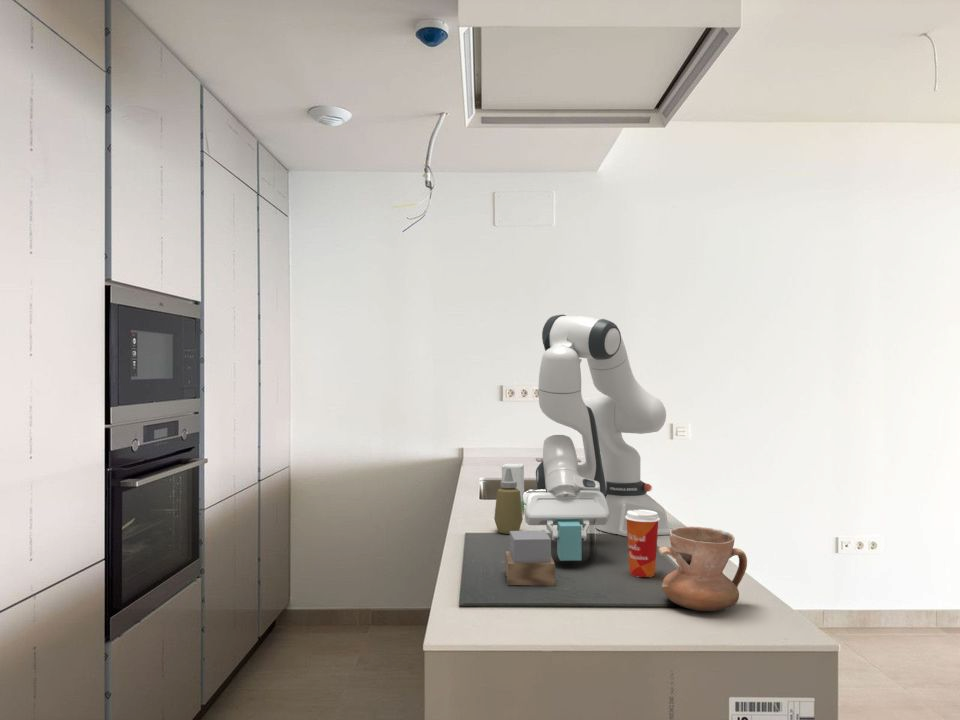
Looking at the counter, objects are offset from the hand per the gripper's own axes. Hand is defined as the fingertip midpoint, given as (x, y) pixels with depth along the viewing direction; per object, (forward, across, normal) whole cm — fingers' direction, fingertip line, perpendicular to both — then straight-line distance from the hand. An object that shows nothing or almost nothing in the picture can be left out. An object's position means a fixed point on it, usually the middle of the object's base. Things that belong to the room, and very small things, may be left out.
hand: (569, 539), depth 162 cm
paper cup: (+9, +16, +1) cm, 18 cm away
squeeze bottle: (-19, -12, +29) cm, 37 cm away
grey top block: (+8, -10, -6) cm, 14 cm away
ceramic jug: (+23, +23, -14) cm, 35 cm away
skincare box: (-37, -9, +48) cm, 61 cm away
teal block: (+3, 0, +4) cm, 4 cm away
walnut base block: (+11, -10, -2) cm, 15 cm away
